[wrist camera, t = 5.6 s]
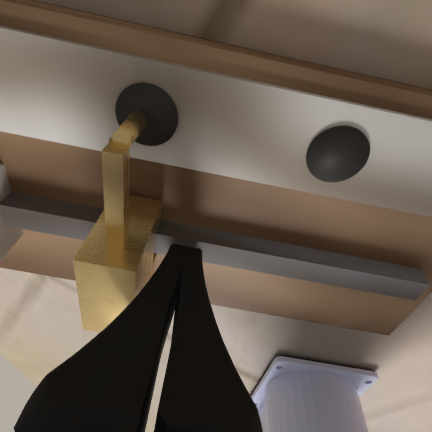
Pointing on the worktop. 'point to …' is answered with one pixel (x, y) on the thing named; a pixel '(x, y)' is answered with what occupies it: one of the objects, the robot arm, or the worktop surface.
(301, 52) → the worktop surface
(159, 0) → the worktop surface
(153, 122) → the board
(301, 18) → the worktop surface
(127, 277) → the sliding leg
